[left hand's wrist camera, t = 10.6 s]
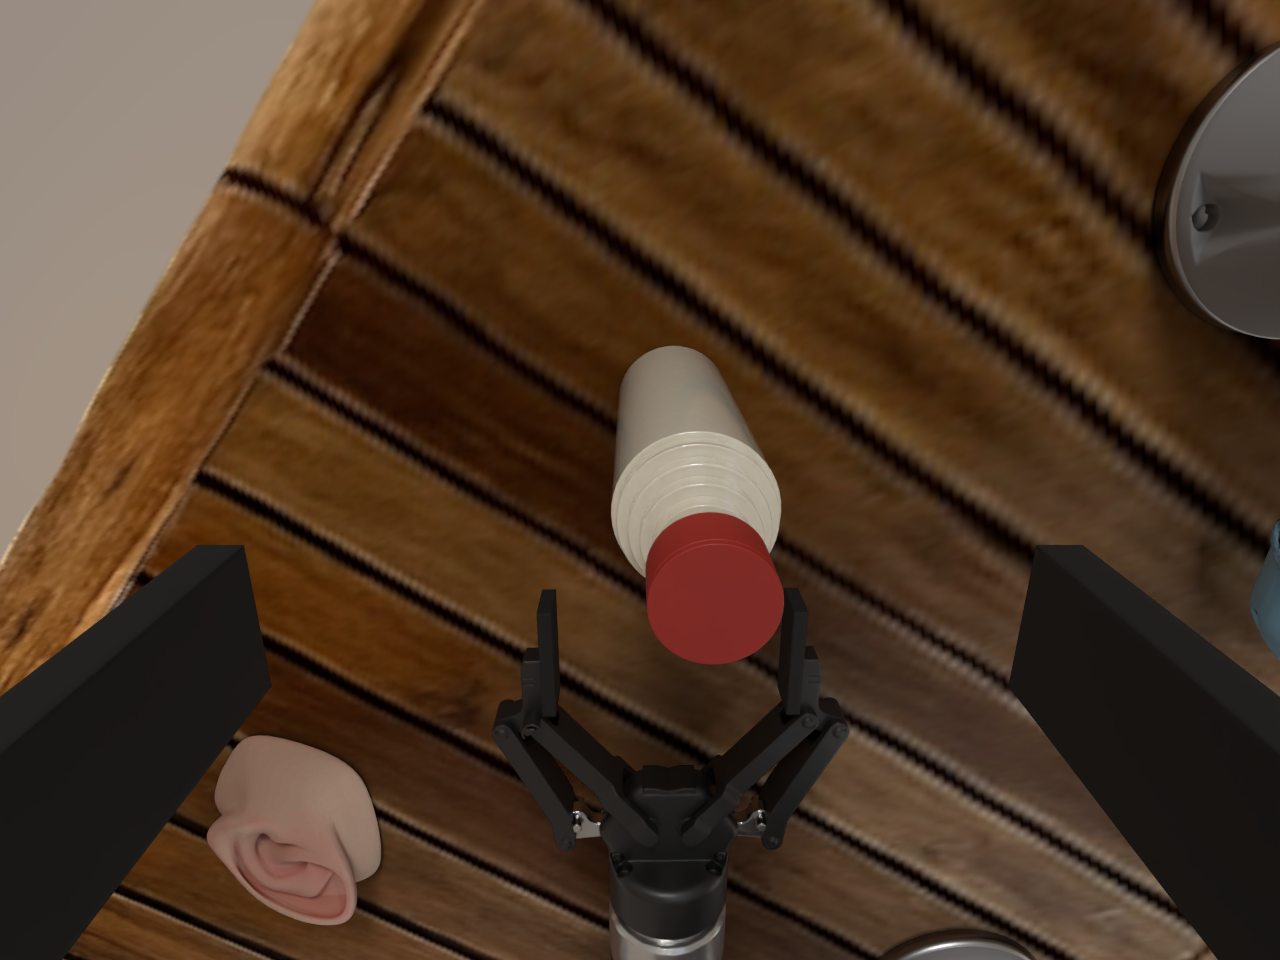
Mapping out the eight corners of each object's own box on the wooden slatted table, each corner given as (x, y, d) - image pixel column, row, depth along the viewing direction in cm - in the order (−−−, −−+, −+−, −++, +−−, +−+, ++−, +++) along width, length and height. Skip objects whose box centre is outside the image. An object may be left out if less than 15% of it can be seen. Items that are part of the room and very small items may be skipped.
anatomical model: (175, 771, 48) (360, 785, 48) (209, 729, 51) (380, 743, 52) (195, 925, 52) (364, 937, 53) (225, 877, 56) (382, 888, 56)
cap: (684, 489, 23) (690, 520, 21) (794, 545, 23) (810, 581, 21) (623, 590, 24) (622, 630, 22) (729, 641, 25) (738, 685, 22)
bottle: (651, 325, 42) (673, 459, 20) (747, 378, 44) (866, 560, 21) (599, 420, 44) (567, 637, 22) (692, 469, 45) (749, 721, 23)
